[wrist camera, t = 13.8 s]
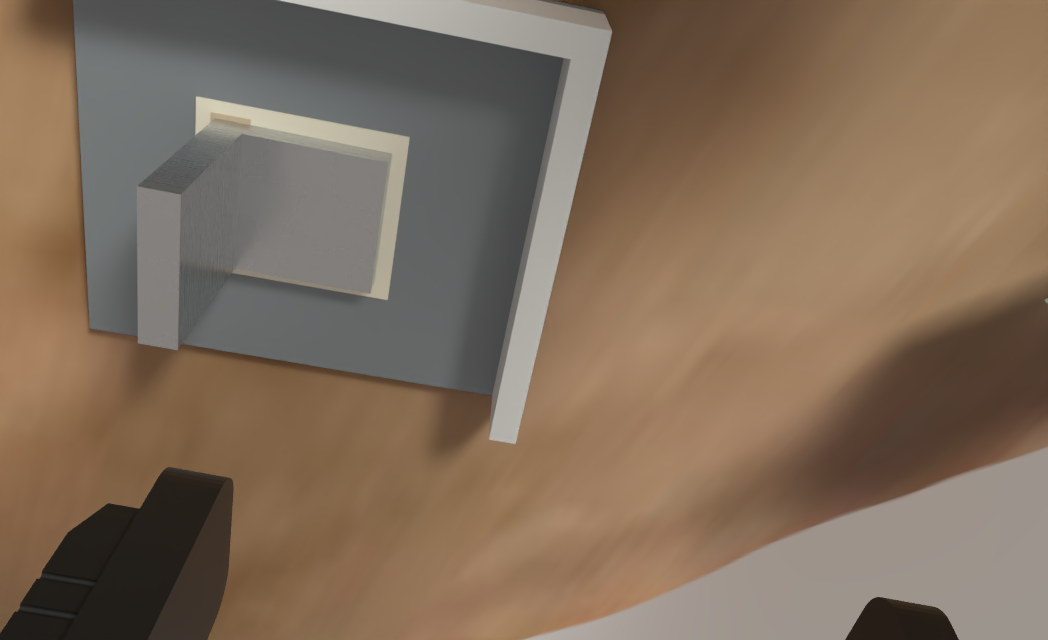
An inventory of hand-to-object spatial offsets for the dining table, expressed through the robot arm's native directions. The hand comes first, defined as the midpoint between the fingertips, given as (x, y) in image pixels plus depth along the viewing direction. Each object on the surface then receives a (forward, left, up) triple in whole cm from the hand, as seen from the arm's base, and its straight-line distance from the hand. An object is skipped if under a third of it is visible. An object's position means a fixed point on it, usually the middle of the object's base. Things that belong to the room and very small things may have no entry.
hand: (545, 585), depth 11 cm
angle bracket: (+7, -9, -27) cm, 29 cm away
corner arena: (+6, -8, -28) cm, 29 cm away
